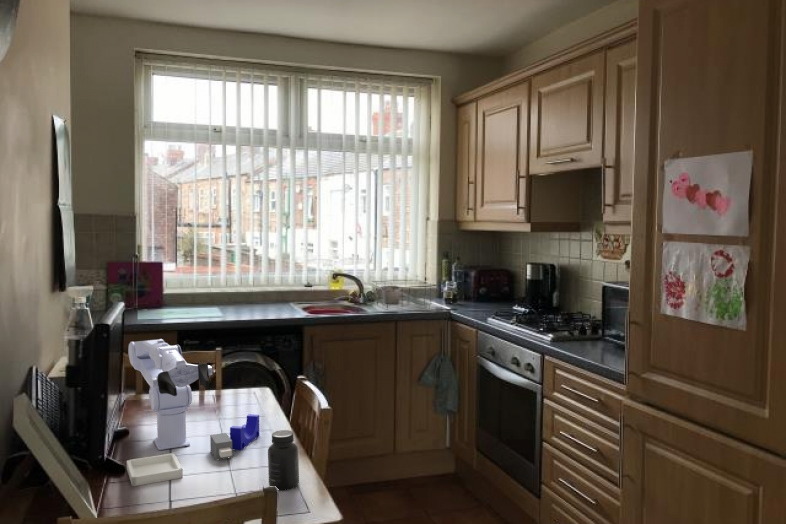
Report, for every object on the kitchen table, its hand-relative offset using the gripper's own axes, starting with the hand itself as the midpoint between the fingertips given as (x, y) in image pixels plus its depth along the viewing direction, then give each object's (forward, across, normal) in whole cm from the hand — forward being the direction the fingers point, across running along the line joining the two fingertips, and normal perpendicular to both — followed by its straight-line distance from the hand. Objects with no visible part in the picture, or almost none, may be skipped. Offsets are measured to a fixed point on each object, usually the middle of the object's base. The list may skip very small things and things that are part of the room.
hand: (191, 388), depth 158 cm
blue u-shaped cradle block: (-8, +14, +23) cm, 28 cm away
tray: (+1, -10, +19) cm, 21 cm away
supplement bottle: (+24, +13, +17) cm, 32 cm away
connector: (-1, +7, +21) cm, 22 cm away
